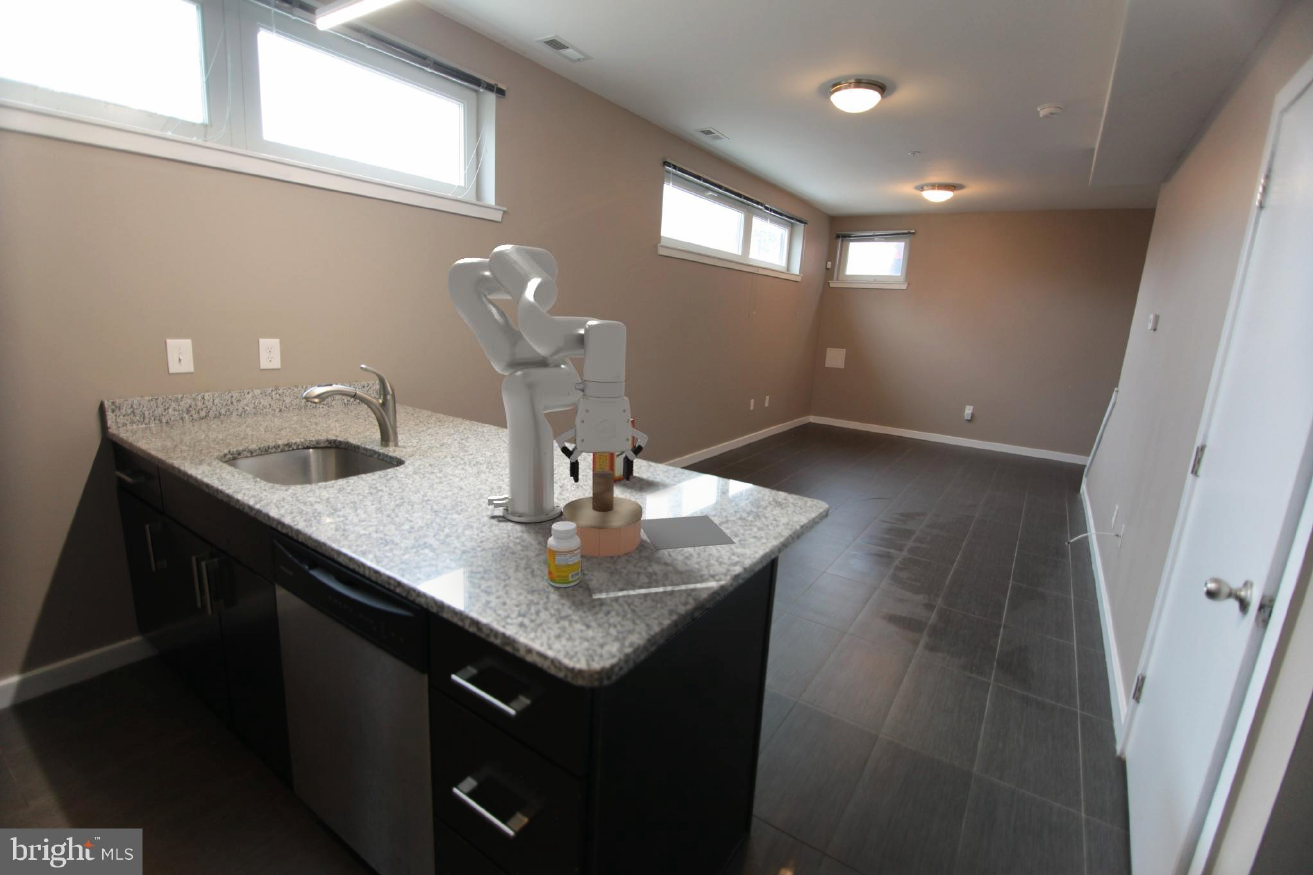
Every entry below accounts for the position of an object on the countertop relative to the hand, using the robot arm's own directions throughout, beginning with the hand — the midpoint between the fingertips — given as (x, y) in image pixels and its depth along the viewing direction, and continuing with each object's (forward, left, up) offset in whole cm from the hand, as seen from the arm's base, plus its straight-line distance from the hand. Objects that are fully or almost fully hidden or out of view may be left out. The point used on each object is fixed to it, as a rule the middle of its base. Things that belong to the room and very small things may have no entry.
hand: (601, 479), depth 111 cm
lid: (0, -1, -7) cm, 7 cm away
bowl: (0, -1, -13) cm, 13 cm away
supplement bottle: (-9, -15, -13) cm, 21 cm away
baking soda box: (+11, +44, -13) cm, 48 cm away
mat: (+17, +1, -13) cm, 22 cm away
